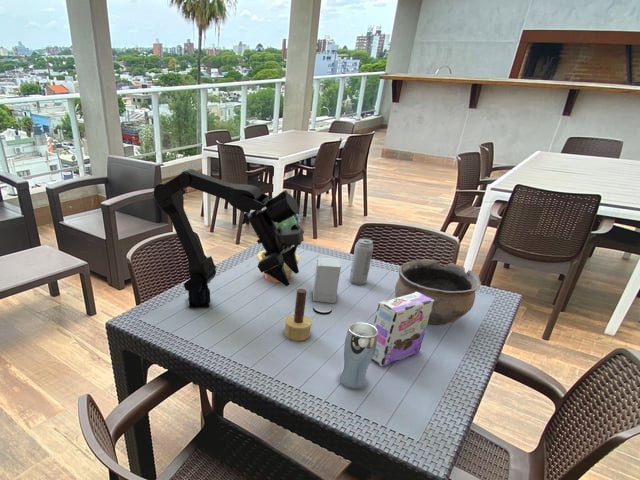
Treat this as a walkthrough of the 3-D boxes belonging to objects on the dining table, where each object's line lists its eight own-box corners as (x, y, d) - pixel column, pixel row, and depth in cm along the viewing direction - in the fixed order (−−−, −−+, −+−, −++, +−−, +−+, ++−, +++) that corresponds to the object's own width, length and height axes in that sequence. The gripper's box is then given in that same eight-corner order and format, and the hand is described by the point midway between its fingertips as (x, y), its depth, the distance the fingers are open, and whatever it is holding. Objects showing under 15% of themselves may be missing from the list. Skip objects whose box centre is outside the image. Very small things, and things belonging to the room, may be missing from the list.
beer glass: (334, 373, 110) (343, 322, 102) (361, 372, 110) (372, 321, 102) (343, 391, 104) (353, 338, 96) (371, 389, 104) (384, 336, 96)
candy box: (381, 367, 112) (395, 311, 103) (365, 356, 116) (377, 301, 107) (419, 353, 117) (436, 299, 108) (402, 343, 122) (417, 290, 113)
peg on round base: (292, 333, 120) (296, 299, 114) (279, 320, 125) (282, 287, 120) (316, 328, 122) (321, 294, 116) (302, 315, 128) (306, 282, 122)
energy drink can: (352, 276, 159) (360, 236, 151) (368, 280, 157) (377, 240, 148) (346, 282, 155) (353, 241, 147) (362, 286, 152) (370, 245, 144)
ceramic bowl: (475, 317, 134) (492, 272, 126) (450, 346, 120) (467, 297, 112) (405, 295, 147) (416, 253, 139) (376, 318, 133) (386, 273, 125)
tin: (292, 342, 122) (293, 330, 120) (280, 330, 127) (281, 318, 125) (313, 338, 124) (315, 326, 122) (301, 326, 129) (302, 314, 127)
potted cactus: (301, 286, 153) (309, 215, 139) (257, 285, 153) (260, 214, 139) (295, 268, 166) (302, 202, 152) (254, 268, 166) (258, 201, 152)
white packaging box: (335, 303, 142) (341, 267, 135) (312, 301, 143) (316, 265, 136) (334, 293, 148) (340, 258, 141) (312, 291, 149) (317, 256, 142)
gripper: (280, 227, 107) (309, 281, 111) (300, 208, 122) (325, 256, 126) (244, 246, 114) (273, 296, 118) (268, 225, 128) (292, 271, 132)
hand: (293, 279), depth 123 cm, fingers open, 9 cm apart
